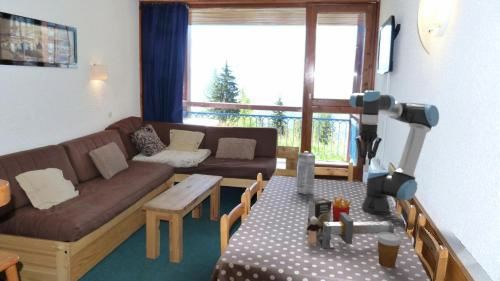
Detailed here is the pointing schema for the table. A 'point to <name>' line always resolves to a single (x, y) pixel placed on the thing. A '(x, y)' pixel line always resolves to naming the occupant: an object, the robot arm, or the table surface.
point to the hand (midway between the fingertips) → (365, 171)
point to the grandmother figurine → (312, 231)
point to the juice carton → (305, 172)
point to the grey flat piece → (347, 228)
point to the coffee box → (319, 212)
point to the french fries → (340, 208)
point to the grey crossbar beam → (357, 229)
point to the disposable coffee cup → (388, 248)
